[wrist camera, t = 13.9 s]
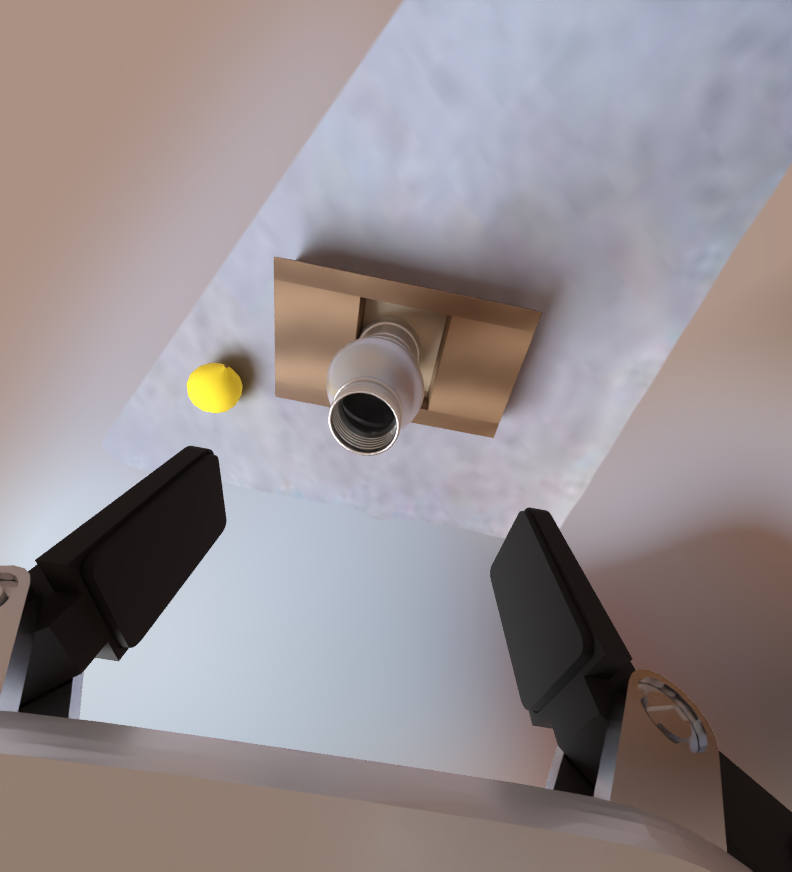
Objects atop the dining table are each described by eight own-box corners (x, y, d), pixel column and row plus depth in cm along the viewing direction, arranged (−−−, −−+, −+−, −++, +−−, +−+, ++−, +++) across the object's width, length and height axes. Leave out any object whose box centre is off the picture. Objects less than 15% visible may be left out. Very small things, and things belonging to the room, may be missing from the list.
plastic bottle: (388, 387, 35) (361, 498, 17) (348, 340, 32) (270, 412, 15) (433, 352, 32) (457, 438, 15) (394, 299, 30) (367, 325, 12)
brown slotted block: (295, 260, 30) (273, 256, 25) (523, 307, 31) (542, 312, 26) (293, 381, 36) (275, 396, 32) (483, 418, 37) (493, 437, 32)
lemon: (238, 409, 39) (211, 431, 35) (200, 382, 37) (167, 402, 33) (261, 373, 35) (234, 393, 31) (220, 342, 34) (186, 358, 30)
